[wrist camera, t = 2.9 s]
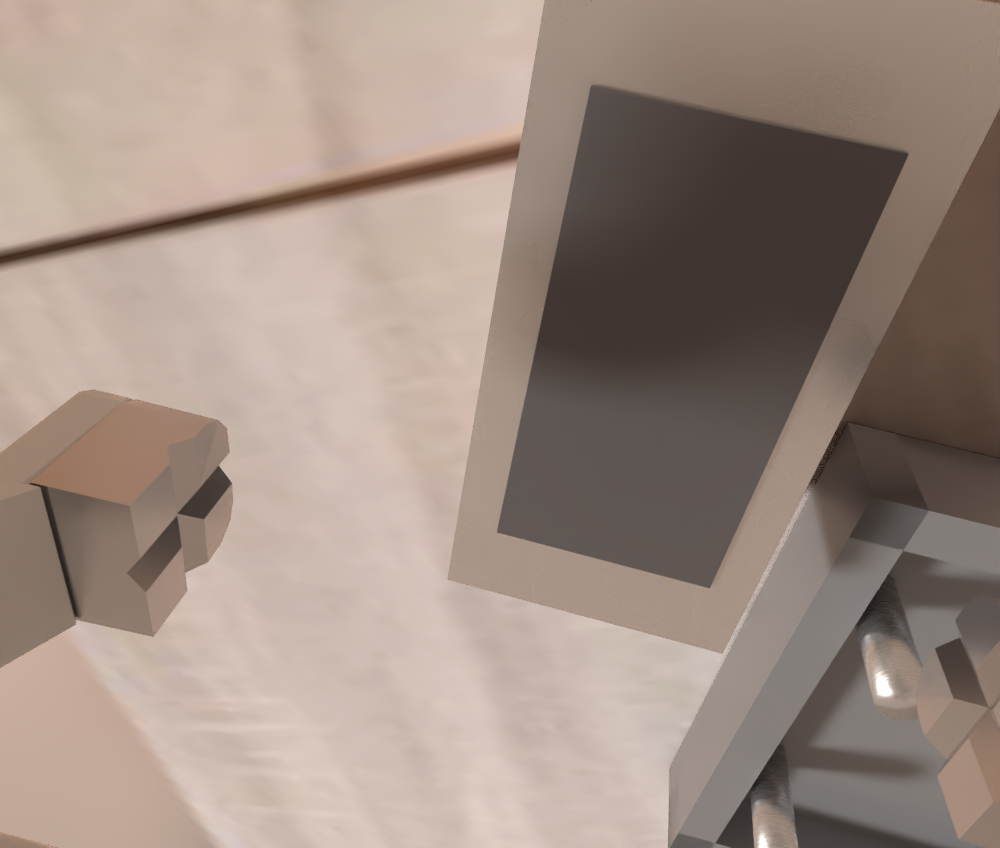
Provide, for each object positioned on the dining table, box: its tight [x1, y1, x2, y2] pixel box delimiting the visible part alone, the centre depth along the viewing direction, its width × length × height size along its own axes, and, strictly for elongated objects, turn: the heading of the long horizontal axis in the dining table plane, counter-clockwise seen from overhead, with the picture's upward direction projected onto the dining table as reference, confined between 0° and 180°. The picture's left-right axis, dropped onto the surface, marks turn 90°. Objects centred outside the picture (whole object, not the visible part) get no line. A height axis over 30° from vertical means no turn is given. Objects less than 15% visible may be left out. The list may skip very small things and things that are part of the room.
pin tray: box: [668, 422, 1000, 848], centre depth 17 cm, size 11×13×4 cm
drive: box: [448, 0, 1000, 653], centre depth 13 cm, size 5×10×5 cm, turn 172°
